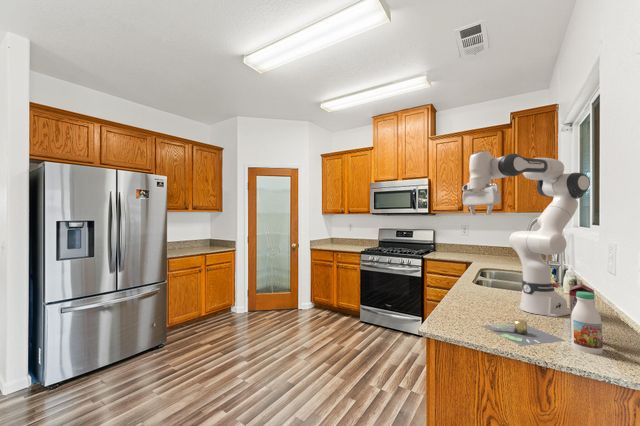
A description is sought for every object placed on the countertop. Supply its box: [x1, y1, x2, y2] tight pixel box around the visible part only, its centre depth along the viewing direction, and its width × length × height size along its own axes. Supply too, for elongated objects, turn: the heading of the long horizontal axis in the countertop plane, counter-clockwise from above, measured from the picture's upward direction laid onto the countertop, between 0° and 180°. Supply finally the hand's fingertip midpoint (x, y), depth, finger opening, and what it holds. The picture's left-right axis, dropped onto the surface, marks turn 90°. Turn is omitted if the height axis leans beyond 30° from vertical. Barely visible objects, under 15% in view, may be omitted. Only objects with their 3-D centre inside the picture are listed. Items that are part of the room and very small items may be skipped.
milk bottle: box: [570, 291, 604, 355], centre depth 97 cm, size 8×8×20 cm
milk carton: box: [569, 280, 596, 330], centre depth 106 cm, size 7×7×22 cm
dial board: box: [481, 322, 566, 347], centre depth 111 cm, size 19×19×1 cm
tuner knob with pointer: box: [489, 319, 528, 334], centre depth 112 cm, size 12×4×4 cm, turn 71°
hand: (480, 214), depth 135 cm, fingers open, 8 cm apart
